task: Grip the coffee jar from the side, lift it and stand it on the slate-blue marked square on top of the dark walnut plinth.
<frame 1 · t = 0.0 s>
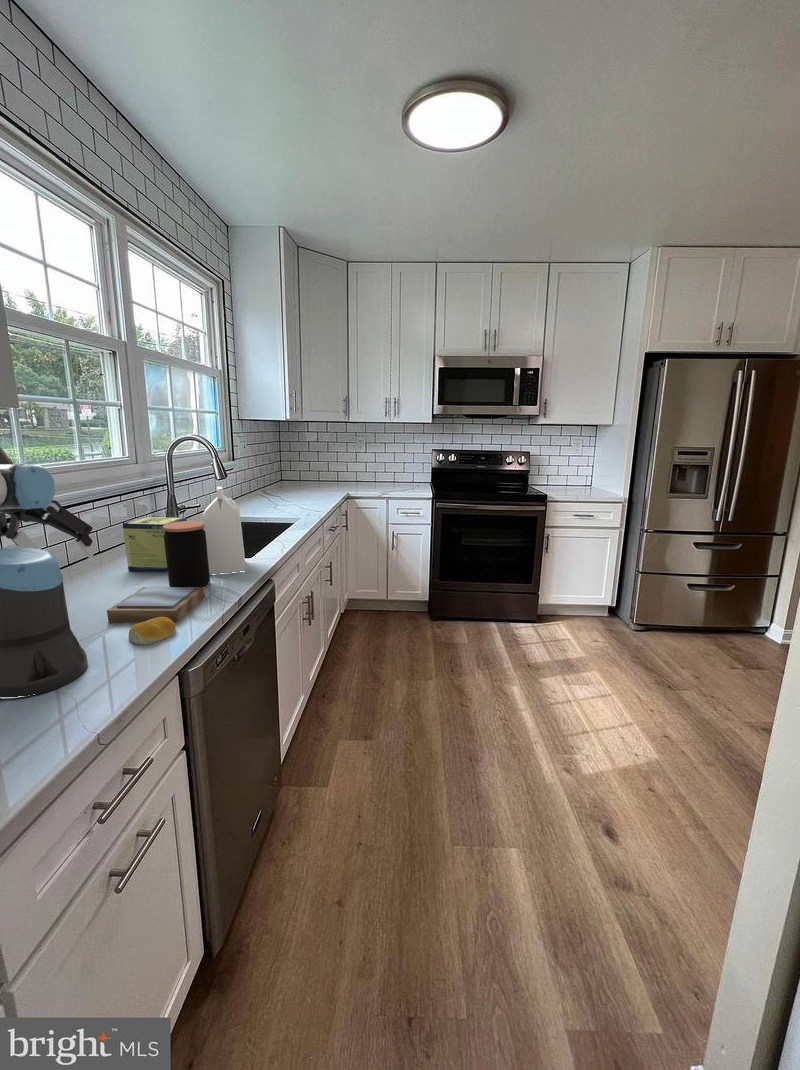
hand: (64, 553, 109), 15 cm above the countertop, tool tilted 35°, fingers open, 13 cm apart
plinth: (160, 609, 116), on the countertop
protein box: (160, 567, 151), on the countertop
coffee jar: (190, 587, 133), on the countertop
milk: (226, 569, 149), on the countertop
bread roll: (153, 637, 101), on the countertop
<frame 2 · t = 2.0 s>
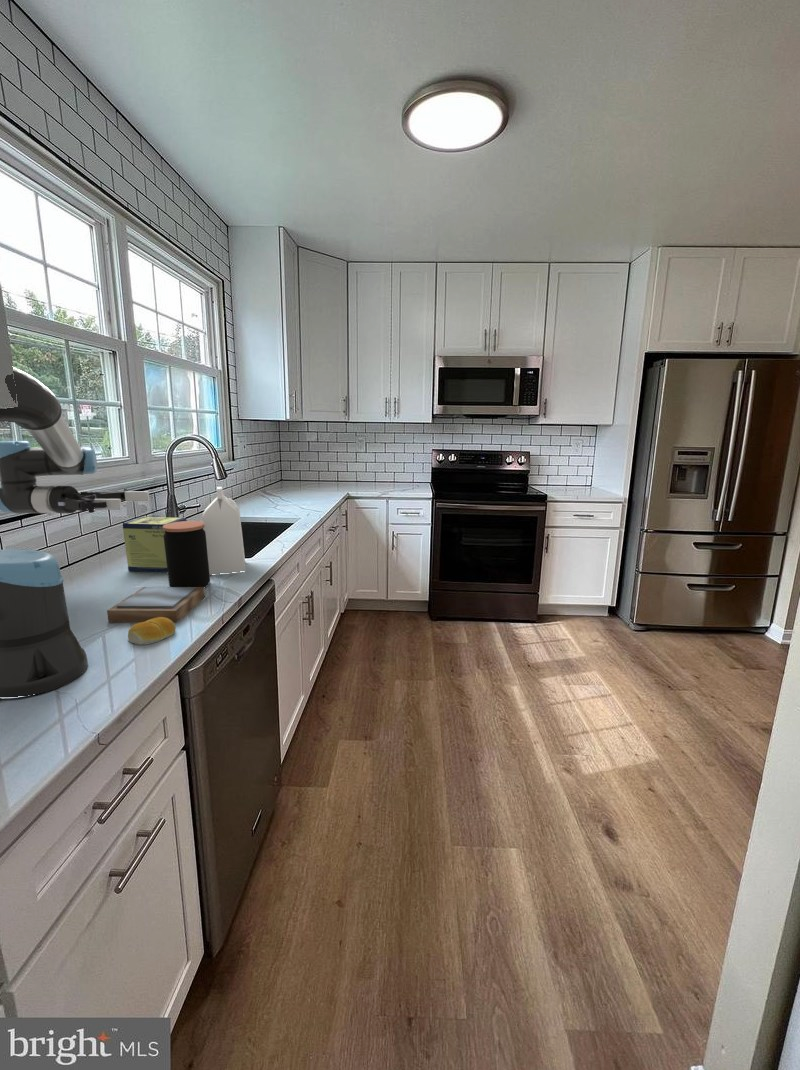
hand: (135, 500, 127), 25 cm above the countertop, tool horizontal, fingers open, 13 cm apart
nothing on the countertop moved.
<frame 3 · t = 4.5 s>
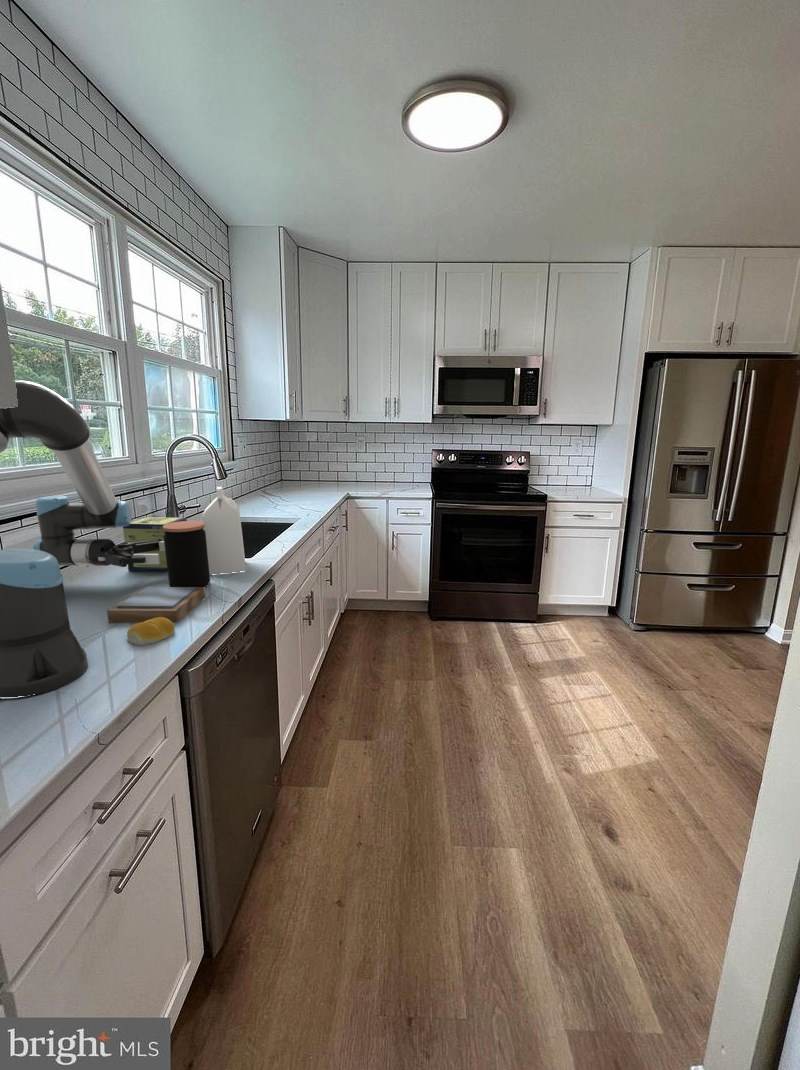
hand: (171, 552, 131), 10 cm above the countertop, tool horizontal, fingers open, 13 cm apart
nothing on the countertop moved.
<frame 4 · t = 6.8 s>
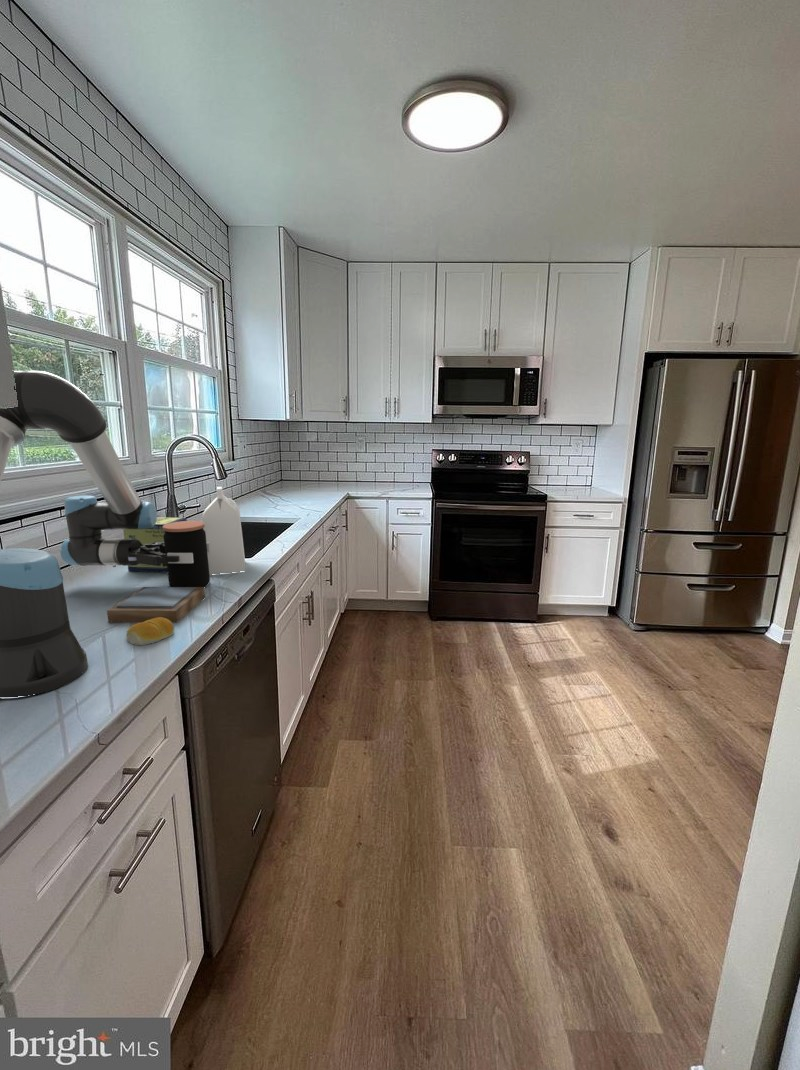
hand: (201, 552, 130), 10 cm above the countertop, tool horizontal, fingers closed on coffee jar, 11 cm apart
coffee jar: (190, 587, 133), on the countertop, touching gripper
everything else where it was.
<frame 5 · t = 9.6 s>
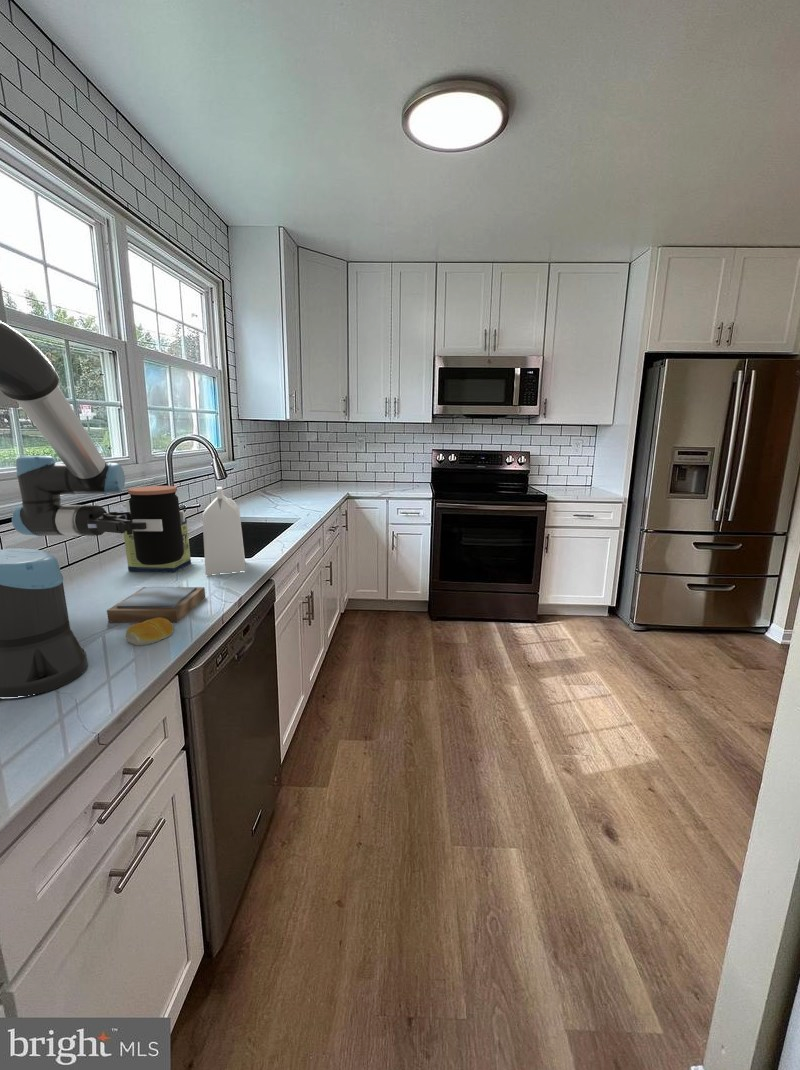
hand: (173, 520, 114), 22 cm above the countertop, tool horizontal, fingers closed on coffee jar, 11 cm apart
coffee jar: (161, 560, 117), point 12 cm above the countertop, touching gripper
everything else where it was.
when the fingers open (15 cm above the countertop, at t = 12.6 s): coffee jar drops 1 cm, resting on plinth.
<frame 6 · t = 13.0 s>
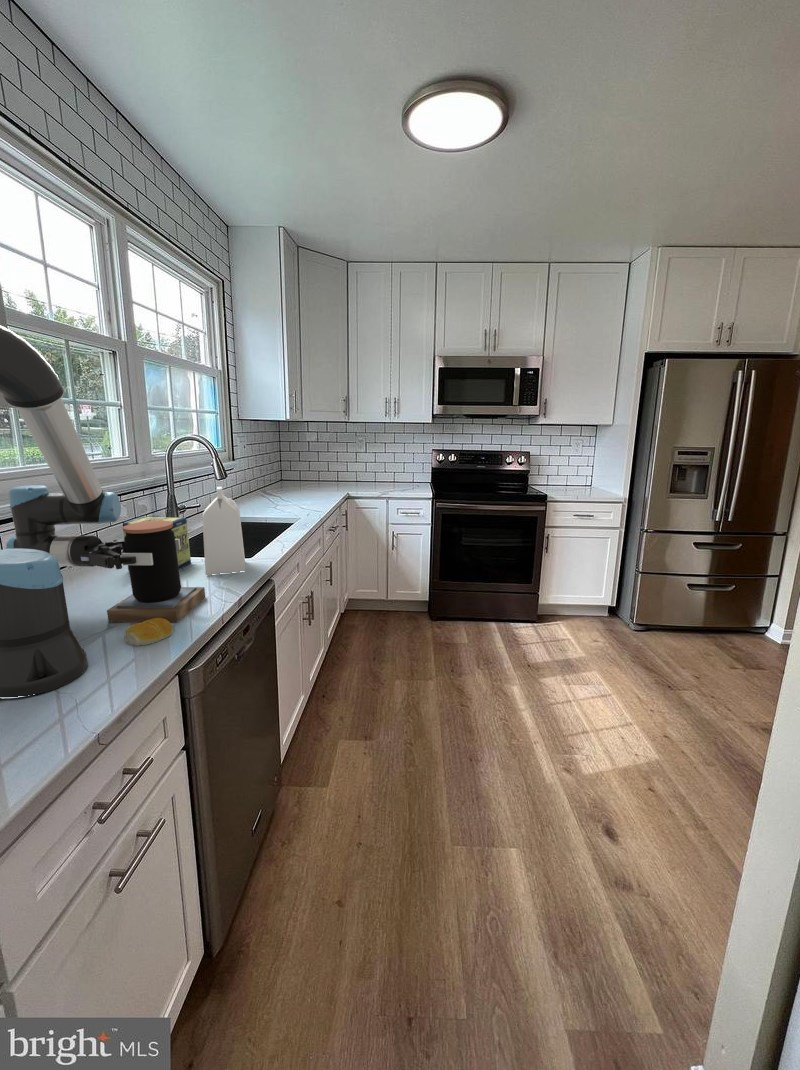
hand: (166, 551, 113), 15 cm above the countertop, tool horizontal, fingers open, 13 cm apart
coffee jar: (158, 596, 115), point 3 cm above the countertop, touching plinth
everything else where it was.
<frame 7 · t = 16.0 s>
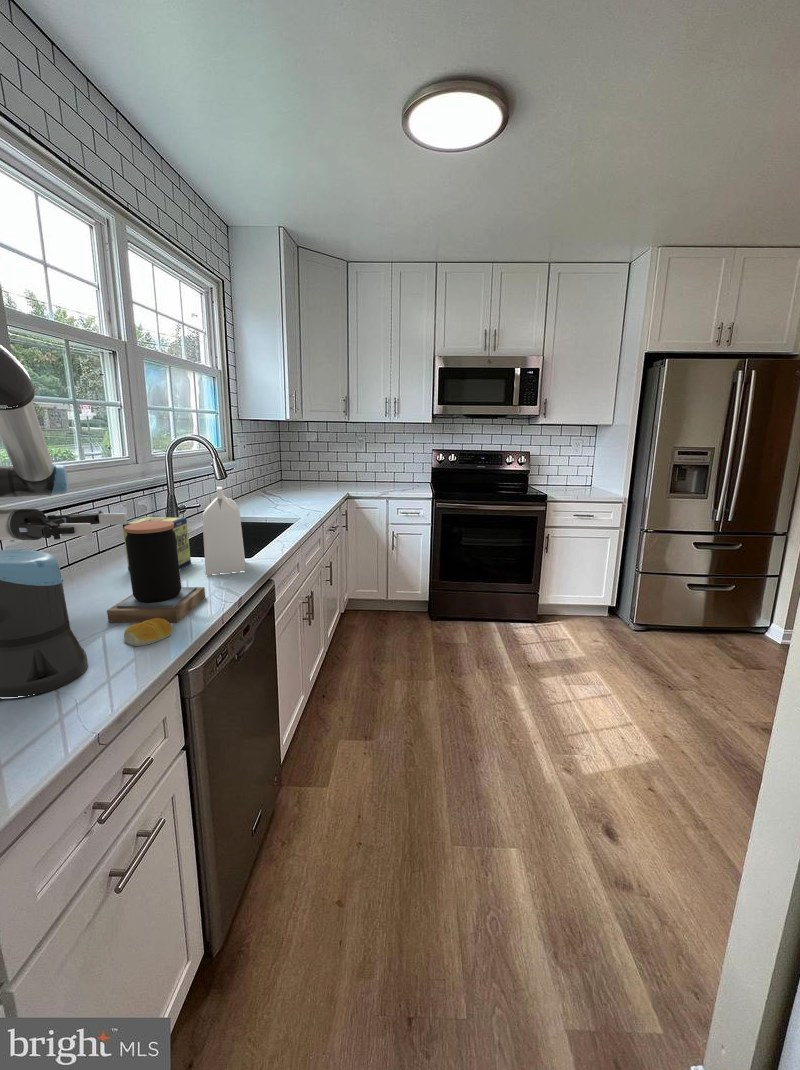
hand: (109, 523, 111), 22 cm above the countertop, tool horizontal, fingers open, 13 cm apart
nothing on the countertop moved.
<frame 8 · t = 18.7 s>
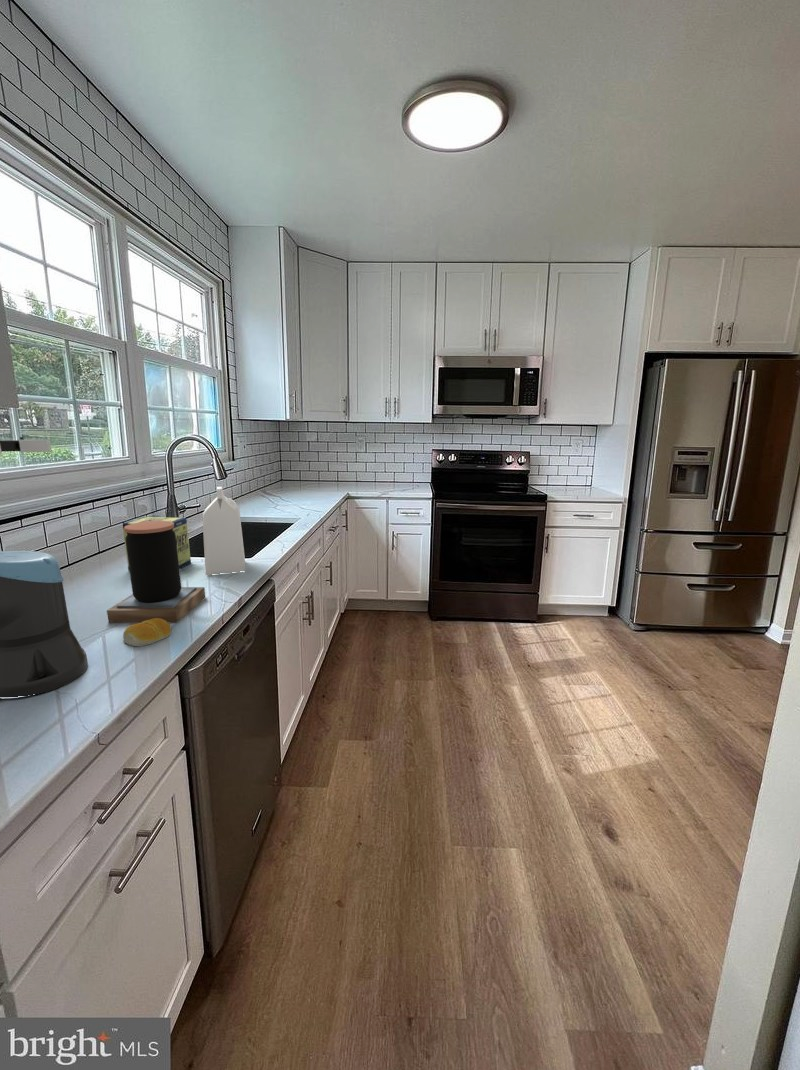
hand: (26, 447, 100), 40 cm above the countertop, tool horizontal, fingers open, 13 cm apart
at the end: coffee jar inside the target area on the plinth (0.1 cm from its centre), point 3.3 cm above the plinth's base; coffee jar tilted 0°; the gripper is holding nothing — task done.
